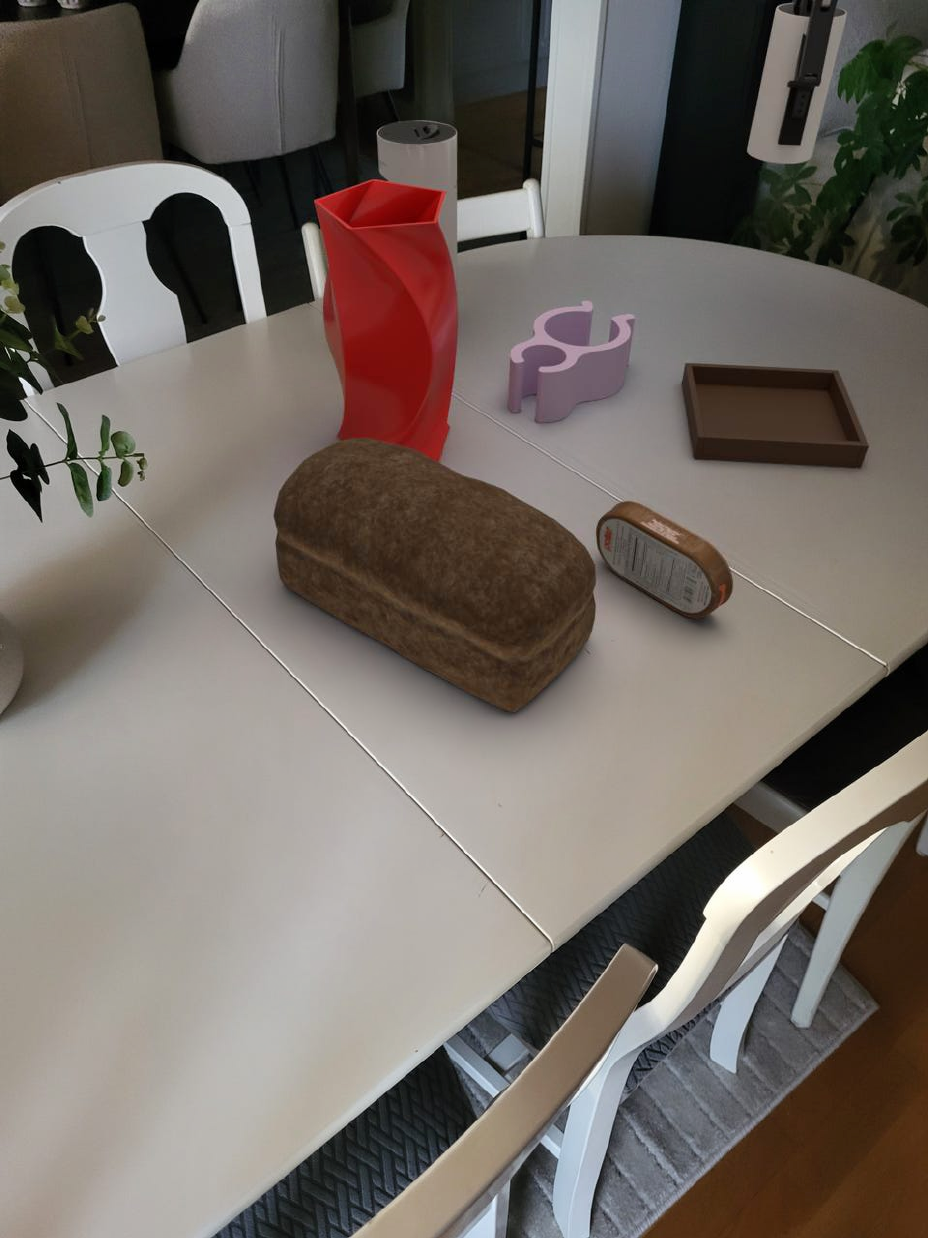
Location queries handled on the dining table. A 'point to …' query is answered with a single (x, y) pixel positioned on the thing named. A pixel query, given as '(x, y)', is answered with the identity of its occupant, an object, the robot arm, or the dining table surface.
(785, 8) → the cup
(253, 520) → the dining table surface
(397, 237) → the vase
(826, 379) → the tray
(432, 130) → the speaker
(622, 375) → the clip
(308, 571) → the bread
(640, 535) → the tin
